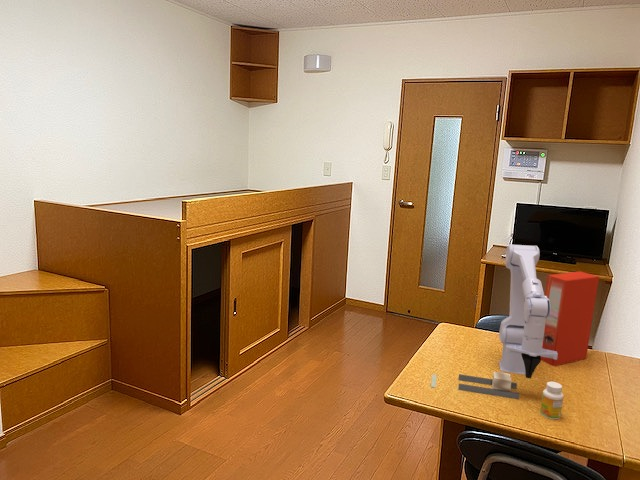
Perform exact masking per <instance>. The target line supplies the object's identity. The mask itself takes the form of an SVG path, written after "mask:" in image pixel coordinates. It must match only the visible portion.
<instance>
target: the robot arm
mask: <svg viewBox="0 0 640 480" xmlns="http://www.w3.org/2000/svg"><path fill="white" fill-rule="evenodd" d="M505 249H506V250H505V263H504V265H505V268H507V269H508V270H510V288H509V291H510V293H509V316H507V317H506V318H504V319H502V320H501V322H500V327H499V331H498V332H499V333H498V337H499V342H501V344H502V353H501V360H498V364H499V366H498V367H499V370H500V371H499V372H503V373H512V374H519V375H524V376H525V378H526V379H532V377H533V374H534V372H535V370H536V368H537V367H538V365H539V364H541V361H542V360H541V357H547V358H553V359H555V360H557V356H558V353H557V351H551V350H547V349H543V348H542V345H543V337H544V330H545V322H546V318H545V317H549V314H550V301H549V299H548V298H547V296H545V291H544V289H543V285H542V281H541V280H540V279H539V278H537V270H536V269H537V268H536V266H537V265H538V262H539V260H540V256H541V255H540V253H541V252H540V248H539V247H538V245H526V244H525V245H524V244H523V245H522V244H512V243H509V244H508V245H507V246H506V248H505Z"/></svg>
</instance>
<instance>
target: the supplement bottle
mask: <svg viewBox="0 0 640 480" xmlns="http://www.w3.org/2000/svg"><path fill="white" fill-rule="evenodd" d="M562 389H563V385H562V384H561V383H559V382H555V381H547V382H546V388H545V389H544V390H543V391H542V398H541V404H540V414H541V416H543V417H545V418H547V419H551V420H559V419H560V418H561V416H562V410H563V403H564V402H563V401H564V393H563V392H562Z"/></svg>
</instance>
